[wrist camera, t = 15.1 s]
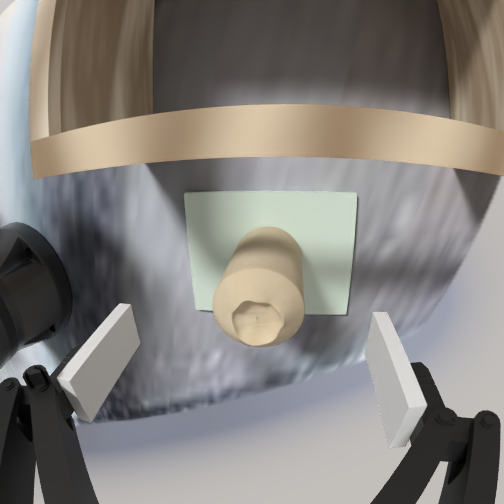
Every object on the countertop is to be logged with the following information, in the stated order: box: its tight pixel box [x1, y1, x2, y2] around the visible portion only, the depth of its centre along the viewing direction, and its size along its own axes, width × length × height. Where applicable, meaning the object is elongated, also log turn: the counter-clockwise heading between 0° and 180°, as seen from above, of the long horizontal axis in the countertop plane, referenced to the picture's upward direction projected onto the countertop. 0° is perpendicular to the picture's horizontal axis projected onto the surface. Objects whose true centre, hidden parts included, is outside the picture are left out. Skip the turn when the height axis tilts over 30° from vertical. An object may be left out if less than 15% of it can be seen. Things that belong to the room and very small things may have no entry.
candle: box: [212, 226, 305, 347], centre depth 21 cm, size 6×6×10 cm
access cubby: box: [29, 0, 504, 179], centre depth 14 cm, size 28×18×13 cm, turn 91°
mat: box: [184, 191, 357, 315], centre depth 26 cm, size 14×11×1 cm
